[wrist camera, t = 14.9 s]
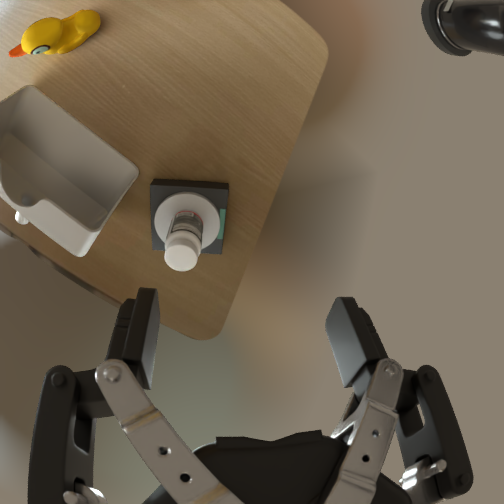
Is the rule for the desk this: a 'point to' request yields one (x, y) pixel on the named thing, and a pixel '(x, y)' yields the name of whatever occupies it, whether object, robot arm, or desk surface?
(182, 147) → the desk surface
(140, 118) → the desk surface
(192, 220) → the pill bottle
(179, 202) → the scale
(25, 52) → the duckling
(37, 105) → the tank
